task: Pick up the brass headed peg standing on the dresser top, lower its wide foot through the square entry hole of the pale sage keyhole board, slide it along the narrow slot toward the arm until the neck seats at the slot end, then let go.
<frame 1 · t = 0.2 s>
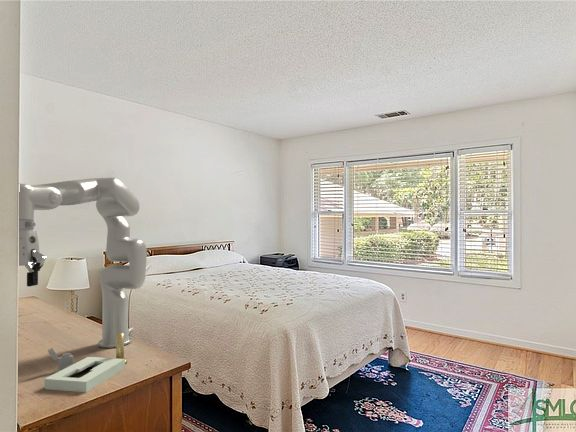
hand: (17, 285, 106), 31 cm above the dresser, fingers open, 9 cm apart
peg: (119, 364, 126), on the dresser
board: (87, 377, 115), on the dresser
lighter: (60, 371, 121), on the dresser
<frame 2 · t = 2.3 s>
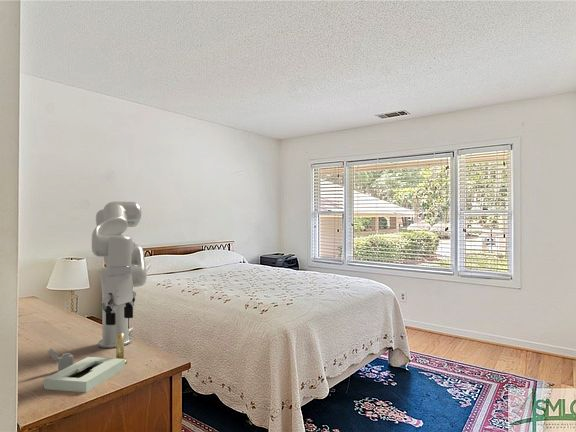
hand: (120, 321, 126), 15 cm above the dresser, fingers open, 9 cm apart
nothing on the dresser moved.
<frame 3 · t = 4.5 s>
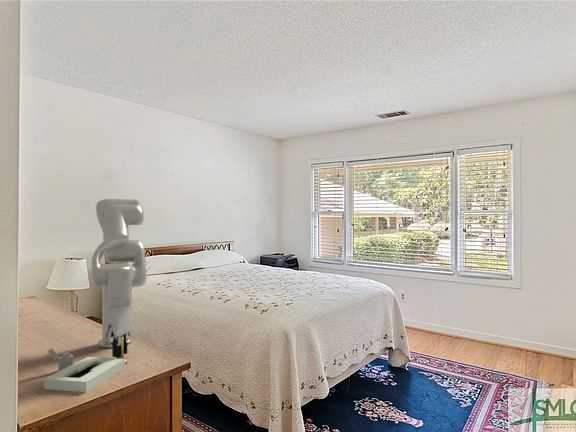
hand: (119, 354, 126), 3 cm above the dresser, fingers closed on peg, 2 cm apart
peg: (119, 364, 126), on the dresser, touching gripper
everything else where it was.
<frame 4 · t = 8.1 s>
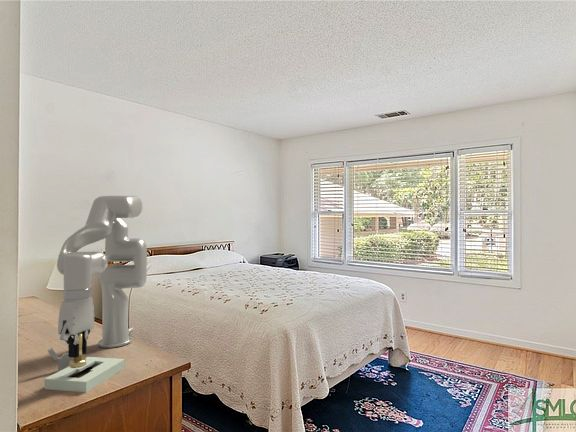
hand: (77, 354, 111), 9 cm above the dresser, fingers closed on peg, 2 cm apart
peg: (77, 365, 111), point 6 cm above the dresser, touching gripper
everything else where it was.
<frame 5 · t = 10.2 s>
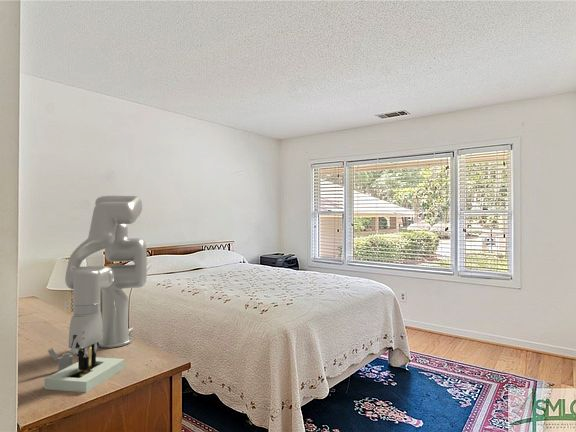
hand: (87, 367, 115), 3 cm above the dresser, fingers closed on peg, 2 cm apart
peg: (87, 377, 115), resting in board, touching gripper
everything else where it was.
when the fingers open (4 cm above the dresser, at t = 12.0 s): peg stays where it is, resting in board.
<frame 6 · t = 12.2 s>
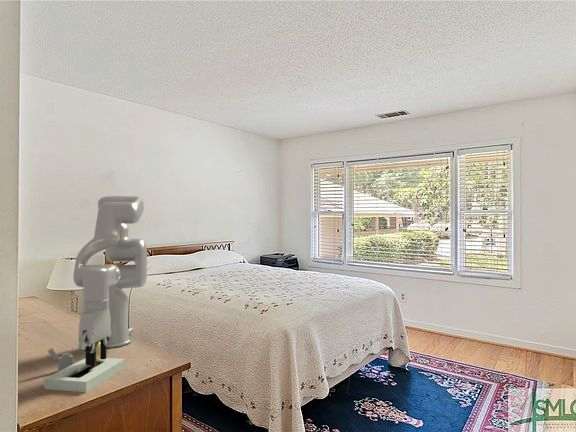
hand: (96, 361, 119), 4 cm above the dresser, fingers open, 4 cm apart
peg: (96, 372, 119), resting in board
everything else where it was.
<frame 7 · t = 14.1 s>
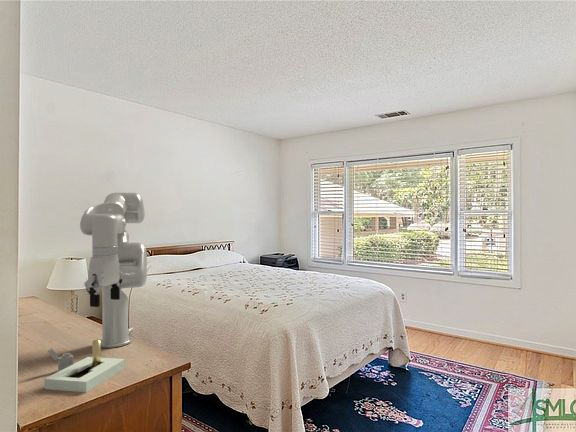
hand: (105, 302, 122), 22 cm above the dresser, fingers open, 9 cm apart
nothing on the dresser moved.
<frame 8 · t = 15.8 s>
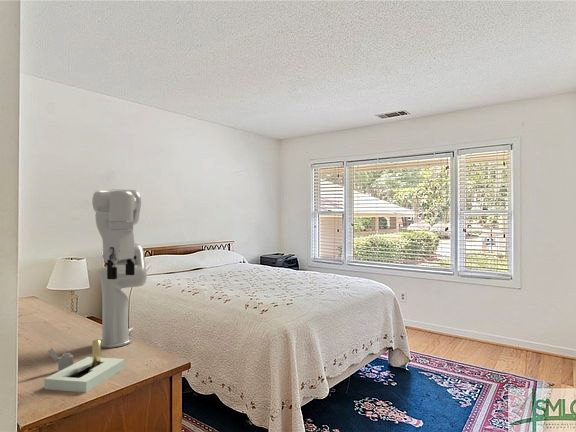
hand: (121, 277, 125), 30 cm above the dresser, fingers open, 9 cm apart
nothing on the dresser moved.
at the end: peg 0.1 cm from the target spot on the board, point 0.0 cm above the board's base; peg tilted 1°; the gripper is holding nothing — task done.
